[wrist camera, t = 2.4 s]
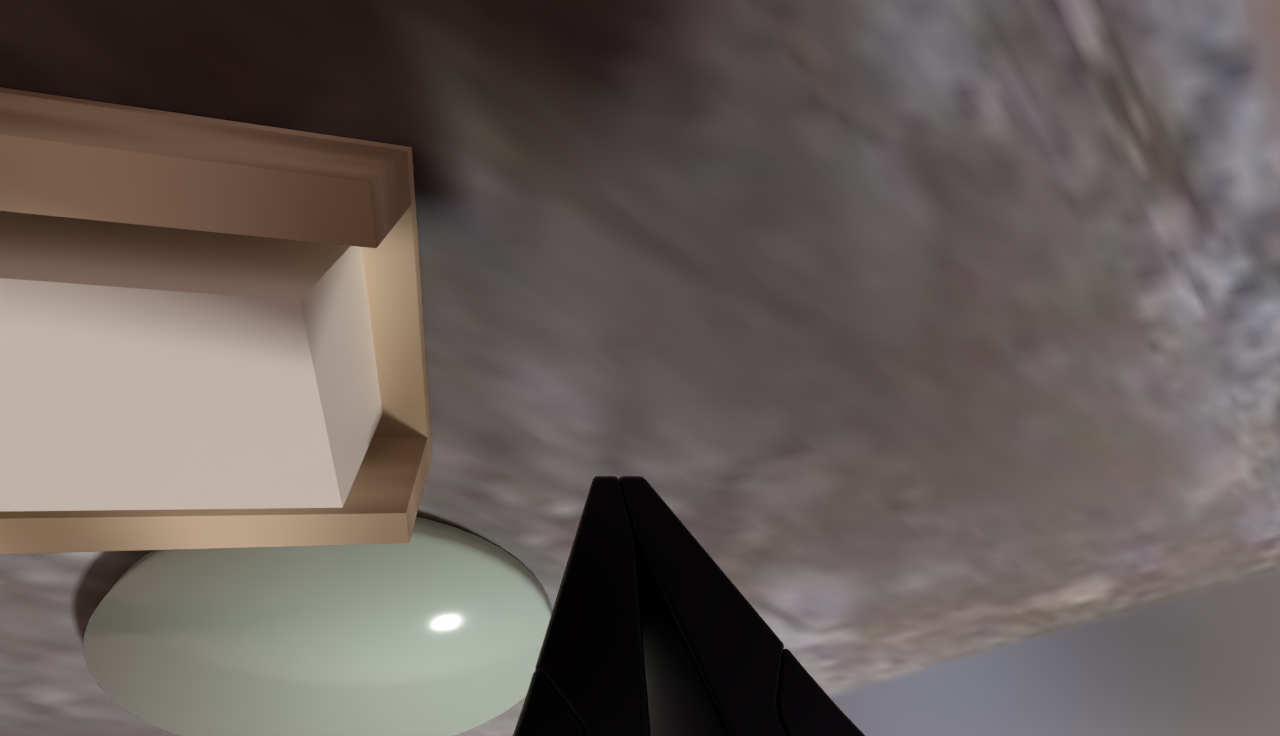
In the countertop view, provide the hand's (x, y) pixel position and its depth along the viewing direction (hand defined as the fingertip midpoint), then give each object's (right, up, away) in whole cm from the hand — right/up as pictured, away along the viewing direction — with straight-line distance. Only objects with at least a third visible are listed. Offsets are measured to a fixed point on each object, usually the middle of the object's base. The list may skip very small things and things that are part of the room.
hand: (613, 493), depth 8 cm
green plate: (-10, -8, +9) cm, 16 cm away
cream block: (-8, +3, +2) cm, 9 cm away
